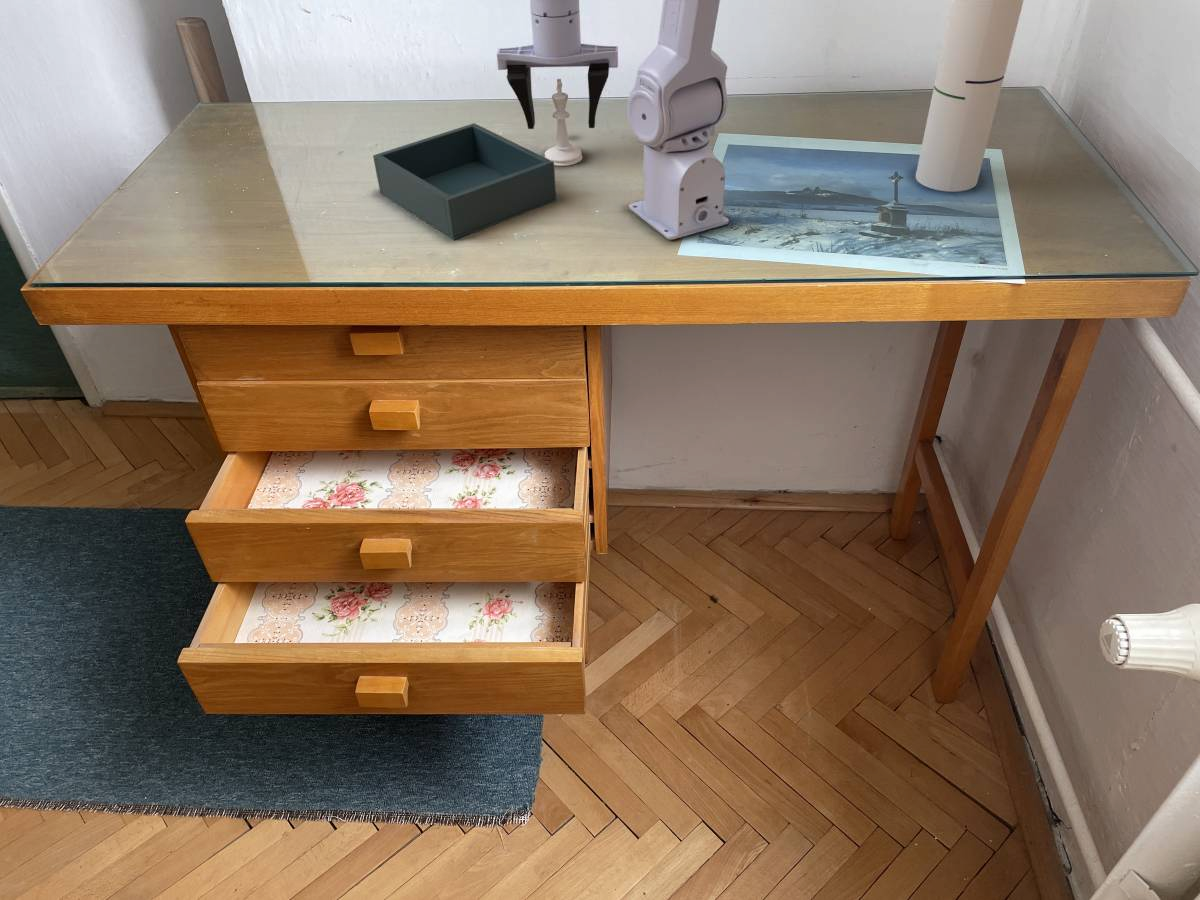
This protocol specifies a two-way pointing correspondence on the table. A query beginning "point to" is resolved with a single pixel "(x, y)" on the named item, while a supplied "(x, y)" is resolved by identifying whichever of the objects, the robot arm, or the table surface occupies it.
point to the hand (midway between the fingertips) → (561, 125)
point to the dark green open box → (465, 179)
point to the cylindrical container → (966, 92)
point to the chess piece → (562, 134)
